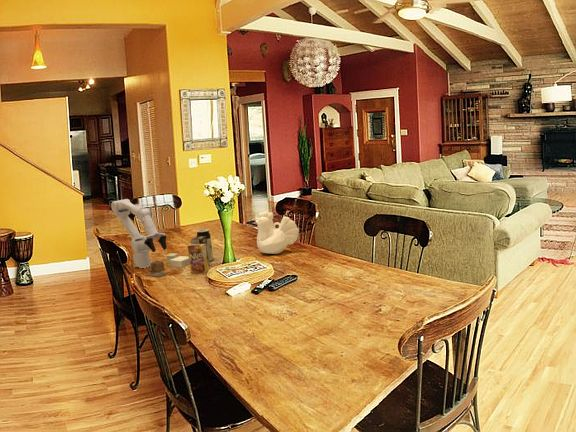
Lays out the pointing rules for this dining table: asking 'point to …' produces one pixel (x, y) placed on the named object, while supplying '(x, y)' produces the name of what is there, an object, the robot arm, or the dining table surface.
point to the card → (157, 274)
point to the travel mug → (206, 233)
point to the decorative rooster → (275, 233)
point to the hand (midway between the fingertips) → (159, 250)
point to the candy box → (197, 258)
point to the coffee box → (201, 241)
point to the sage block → (171, 257)
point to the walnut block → (157, 266)
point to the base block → (180, 261)
